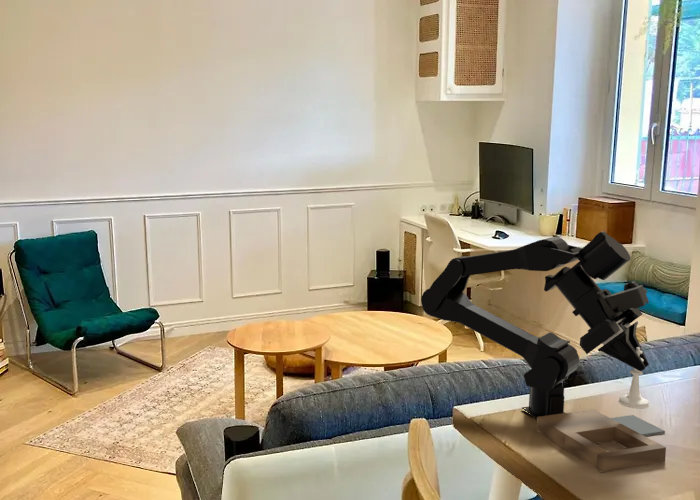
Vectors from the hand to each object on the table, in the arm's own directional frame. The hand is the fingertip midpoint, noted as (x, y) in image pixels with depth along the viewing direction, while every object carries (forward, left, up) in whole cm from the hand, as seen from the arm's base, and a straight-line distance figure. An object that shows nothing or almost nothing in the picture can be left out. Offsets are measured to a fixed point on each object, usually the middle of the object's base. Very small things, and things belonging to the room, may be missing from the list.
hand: (645, 368), depth 119 cm
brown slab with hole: (+1, -10, -12) cm, 16 cm away
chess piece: (-1, -1, -7) cm, 7 cm away
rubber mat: (-4, +1, -12) cm, 13 cm away
